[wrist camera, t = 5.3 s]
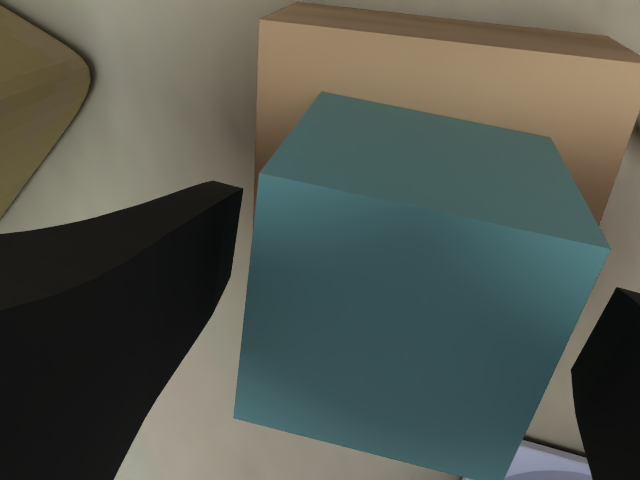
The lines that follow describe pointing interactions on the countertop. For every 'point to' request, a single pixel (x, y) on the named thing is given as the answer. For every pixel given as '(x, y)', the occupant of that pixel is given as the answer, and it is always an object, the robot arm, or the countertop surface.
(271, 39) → the oak block
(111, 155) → the countertop surface
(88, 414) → the robot arm
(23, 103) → the cheese
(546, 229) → the teal block
